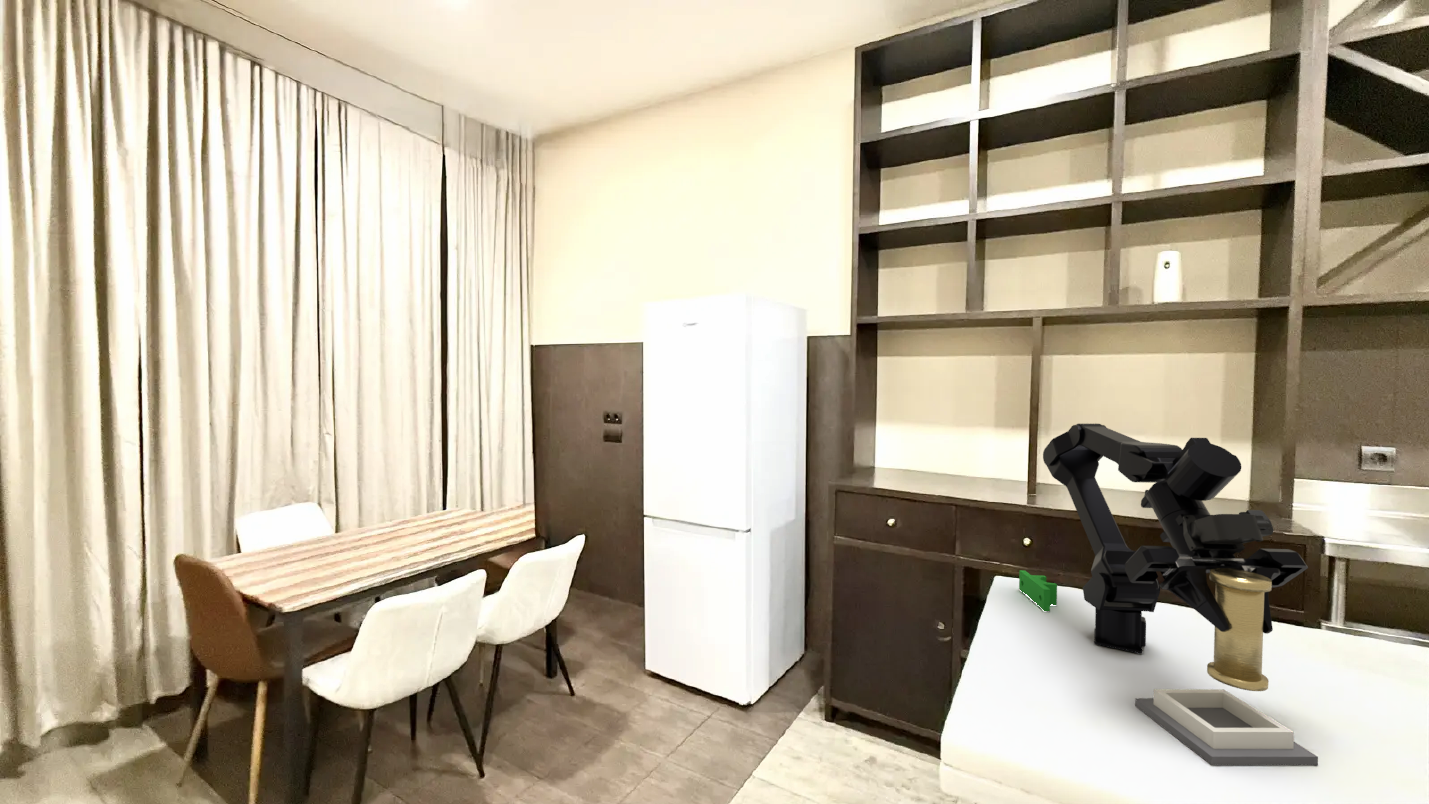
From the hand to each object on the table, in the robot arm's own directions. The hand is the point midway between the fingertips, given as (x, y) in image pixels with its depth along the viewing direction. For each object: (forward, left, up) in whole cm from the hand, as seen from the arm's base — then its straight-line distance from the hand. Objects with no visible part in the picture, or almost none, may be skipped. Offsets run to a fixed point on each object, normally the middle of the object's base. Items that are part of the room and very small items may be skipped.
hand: (1247, 631), depth 69 cm
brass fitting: (-1, +1, -7) cm, 7 cm away
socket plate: (-2, 0, -13) cm, 14 cm away
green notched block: (-25, +37, -14) cm, 46 cm away
